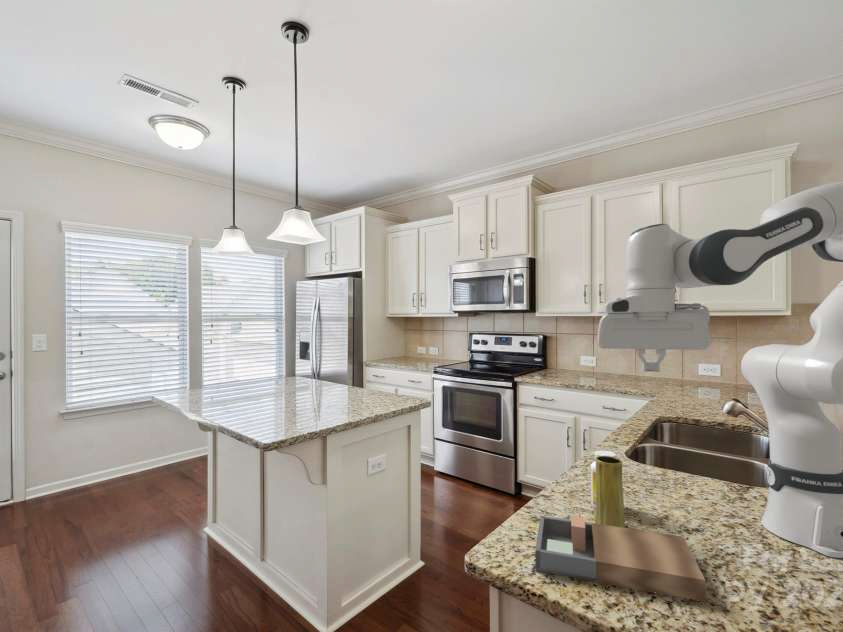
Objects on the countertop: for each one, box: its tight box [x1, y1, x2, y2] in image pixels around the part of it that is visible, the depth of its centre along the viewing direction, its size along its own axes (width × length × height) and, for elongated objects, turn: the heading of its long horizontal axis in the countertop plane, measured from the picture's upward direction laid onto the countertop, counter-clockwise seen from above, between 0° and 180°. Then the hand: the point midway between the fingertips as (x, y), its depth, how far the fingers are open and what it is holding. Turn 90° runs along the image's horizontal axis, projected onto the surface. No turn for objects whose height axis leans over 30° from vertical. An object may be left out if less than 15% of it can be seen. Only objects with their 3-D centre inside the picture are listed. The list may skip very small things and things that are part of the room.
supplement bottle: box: [590, 450, 617, 509], centre depth 98 cm, size 7×7×13 cm
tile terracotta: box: [570, 515, 586, 552], centre depth 81 cm, size 4×4×2 cm
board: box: [591, 522, 707, 603], centre depth 74 cm, size 16×14×4 cm
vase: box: [594, 456, 626, 528], centre depth 90 cm, size 6×6×14 cm
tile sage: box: [547, 539, 573, 555], centre depth 76 cm, size 4×4×2 cm
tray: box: [534, 515, 597, 583], centre depth 79 cm, size 10×14×4 cm
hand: (651, 371), depth 85 cm, fingers closed
